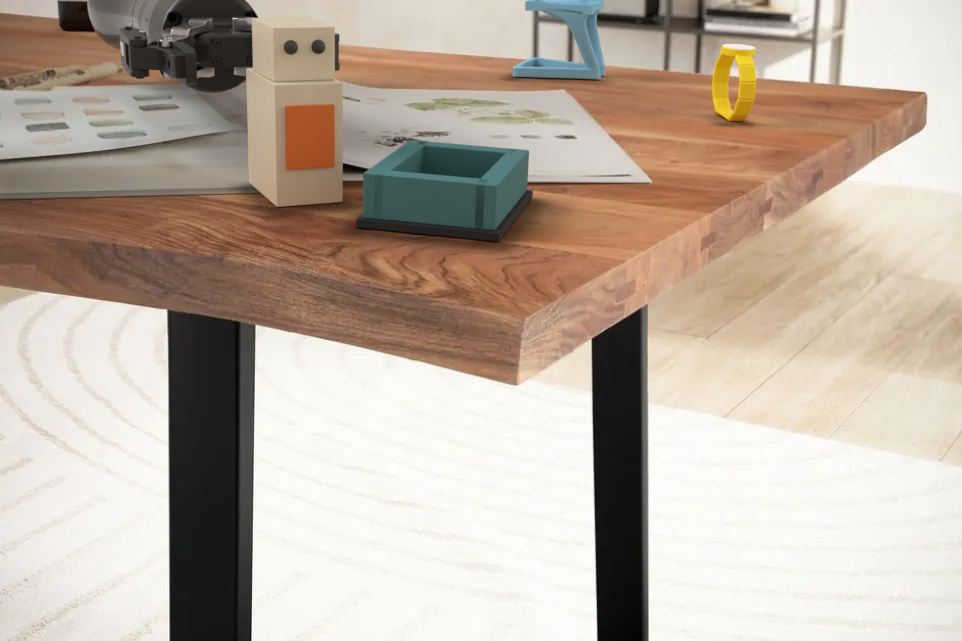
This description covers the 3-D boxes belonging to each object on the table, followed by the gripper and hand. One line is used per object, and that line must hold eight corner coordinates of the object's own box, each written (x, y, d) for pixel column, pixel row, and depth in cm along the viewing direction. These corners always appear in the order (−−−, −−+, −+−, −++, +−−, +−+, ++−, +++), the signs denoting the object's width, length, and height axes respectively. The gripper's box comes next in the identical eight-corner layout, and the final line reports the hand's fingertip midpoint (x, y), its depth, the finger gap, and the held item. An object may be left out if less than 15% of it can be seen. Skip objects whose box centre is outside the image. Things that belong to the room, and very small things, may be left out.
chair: (595, 83, 117) (604, -48, 112) (511, 76, 119) (517, -53, 115) (609, 72, 124) (619, -52, 120) (529, 66, 126) (536, -56, 122)
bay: (405, 186, 76) (406, 138, 75) (532, 198, 75) (535, 149, 74) (355, 227, 67) (355, 173, 66) (498, 242, 65) (501, 187, 64)
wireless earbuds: (125, 31, 139) (124, 1, 137) (59, 30, 137) (56, 0, 136) (126, 26, 143) (124, -3, 142) (61, 25, 141) (59, -4, 140)
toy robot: (248, 183, 75) (244, 16, 72) (311, 178, 77) (309, 15, 74) (278, 208, 70) (274, 29, 67) (344, 203, 72) (344, 28, 68)
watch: (701, 111, 105) (708, 40, 103) (731, 111, 106) (739, 41, 104) (728, 125, 99) (736, 50, 97) (760, 125, 100) (768, 51, 98)
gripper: (96, -19, 87) (141, 6, 74) (289, -20, 93) (364, 4, 79) (103, 87, 90) (148, 130, 76) (291, 80, 96) (364, 119, 82)
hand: (258, 66), depth 78 cm, fingers open, 8 cm apart
